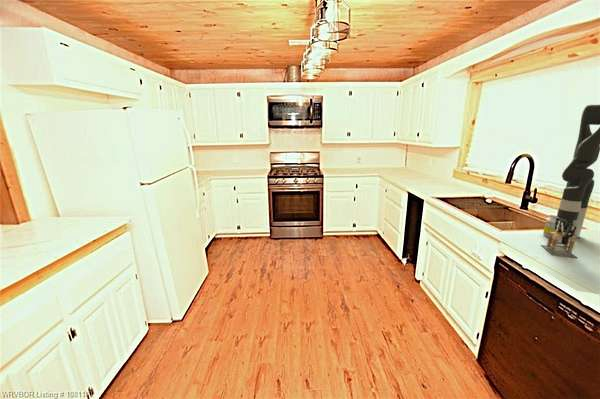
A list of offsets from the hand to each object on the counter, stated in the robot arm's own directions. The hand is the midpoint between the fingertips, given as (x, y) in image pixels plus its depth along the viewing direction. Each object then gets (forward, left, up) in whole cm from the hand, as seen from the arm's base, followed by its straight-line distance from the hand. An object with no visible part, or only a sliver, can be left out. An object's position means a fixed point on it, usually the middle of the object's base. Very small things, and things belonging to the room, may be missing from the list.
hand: (560, 241), depth 144 cm
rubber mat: (0, 0, -5) cm, 5 cm away
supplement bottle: (-24, +6, -6) cm, 25 cm away
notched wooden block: (0, 0, -4) cm, 4 cm away
